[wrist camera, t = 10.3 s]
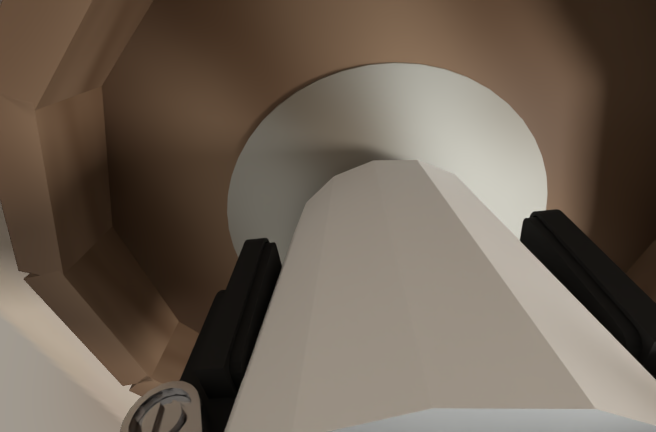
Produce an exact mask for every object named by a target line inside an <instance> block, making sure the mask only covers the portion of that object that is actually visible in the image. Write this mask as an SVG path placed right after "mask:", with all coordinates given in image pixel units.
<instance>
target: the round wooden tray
mask: <svg viewBox="0 0 656 432" xmlns="http://www.w3.org/2000/svg"><path fill="white" fill-rule="evenodd" d="M373 160H419V161H422V162H424V163H427V164H430V165H432V166H435V167H437V168H440V169H443V170H445V171H448V172H450V173H453V174H455V175H456V176H457V177H458V178H459V179H460V180H461V181H462V182H463V183H464V184H465V185H466V186H467V187H468V188H469V189H470V190H471V191H472V192H473V193H474V194H475V195H476V197H477V198H478V199H479V200H480V201H481V202H482V203H483V204H484V205H485V206H486V207H487V208H488V209H489V210H490V211H491V212H492V213H493V214H494V215H495V216H496V217H497V218H498V219H499V220H500V221H501V222H502V223H503V224H504V225H505V226H506V227H507V228H508V229H509V230H510V231H511V232H512V233H513V234H514V235H515V236H516V237H517V238H518V239H519V240H520V236H521V229H522V223H523V220H524V219H525V218H529V217H530V215H531V213H532V212H534V211H543V210H554V209H559V210H561V211H562V212H563V213H564V214H565V215H566V216H567V217H568V218H569V219H570V220H571V221H572V222H573V223H574V224H575V225H576V226H577V227H578V228H579V229H580V230H581V231H582V232H583V233H584V234H586V235H587V236H588V237H589V238H590V239H591V240H592V241H593V242H594V243H595V244H596V245H597V246H598V247H599V248H600V249H601V250H602V251H603V252H604V253H605V254H606V255H607V256H608V257H609V258H610V259H611V260H612V261H613V262H614V263H615V264H616V265H617V266H618V267H619V268H620V269H621V270H622V271H623V272H624V273H625V274H626V275H627V276H628V277H629V278H630V279H631V280H633V281H634V282H635V283H636V284H637V285H638V286H639V287H640V288H641V289H642V290H643V291H644V292H645V293H646V294H647V295H648V296H649V297H650V298H651V299H652V300H653V301H654V302H655V303H656V0H2V2H1V5H0V200H1V204H2V208H3V212H4V216H5V220H6V223H7V227H8V231H9V235H10V239H11V243H12V247H13V251H14V255H15V258H16V262H17V266H18V270H19V271H22V272H27V273H30V274H29V275H28V276H27V277H25V278H24V280H25V281H26V282H27V283H28V284H29V285H30V287H31V288H32V289H33V290H34V291H35V292H36V293H37V294H38V295H39V296H40V297H41V298H42V299H43V301H44V302H45V303H46V304H47V305H48V306H49V307H50V308H51V309H52V310H53V311H54V312H55V313H56V315H57V316H58V317H59V318H60V319H61V320H62V321H63V322H64V323H65V324H66V325H67V326H68V327H69V329H70V330H71V331H72V332H73V333H74V334H75V335H76V336H77V337H78V338H79V339H80V340H81V341H82V343H83V344H84V345H85V346H86V347H87V348H88V349H89V350H90V351H91V352H92V353H93V354H94V355H95V357H96V358H97V359H98V360H99V361H100V362H101V363H102V364H103V365H104V366H105V367H106V368H107V369H108V371H109V372H110V373H111V374H112V375H113V376H114V377H115V378H116V379H117V380H118V381H119V382H120V383H121V385H122V386H125V385H131V384H132V386H131V388H130V390H129V391H131V392H133V393H136V394H138V395H140V396H143V395H144V394H146V393H147V392H148V391H149V390H151V389H153V388H155V387H157V386H159V385H161V384H164V383H167V382H171V381H179V380H180V378H181V376H182V373H183V371H184V369H185V366H186V364H187V361H188V359H189V357H190V354H191V352H192V350H193V347H194V345H195V343H196V340H197V338H198V336H199V333H200V331H201V328H202V326H203V324H204V321H205V319H206V317H207V314H208V312H209V310H210V307H211V305H212V303H213V300H214V298H215V296H216V294H217V292H219V291H220V290H226V287H227V285H228V282H229V280H230V277H231V275H232V272H233V270H234V267H235V265H236V262H237V260H238V257H239V255H240V252H241V250H242V247H243V245H244V242H245V241H246V240H248V239H258V238H268V240H269V242H270V243H272V242H275V243H276V246H277V249H278V253H279V257H280V260H281V264H282V266H283V263H284V260H285V257H286V254H287V251H288V249H289V246H290V243H291V240H292V237H293V234H294V232H295V229H296V227H297V224H298V222H299V219H300V217H301V214H302V212H303V209H304V207H305V204H306V202H307V201H308V200H309V199H310V198H311V197H312V196H314V195H315V194H316V193H317V192H318V191H319V190H320V189H321V188H322V187H323V186H324V185H325V184H326V183H327V182H328V181H329V180H330V179H332V178H333V177H334V176H335V175H338V174H341V173H343V172H346V171H348V170H351V169H353V168H356V167H358V166H361V165H363V164H366V163H368V162H371V161H373Z"/></svg>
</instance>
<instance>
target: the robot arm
mask: <svg viewBox="0 0 656 432" xmlns="http://www.w3.org/2000/svg"><path fill="white" fill-rule="evenodd" d="M520 241H521V242H522V244H523V245H524V246H525V247H526V248H527V249H528V250H529V251H530V252H531V253H532V254H533V255H534V256H535V257H536V258H537V259H538V260H539V261H540V262H541V263H542V264H543V265H544V266H545V267H546V268H547V269H548V270H549V271H550V272H551V273H552V274H553V275H554V276H555V277H556V278H557V279H558V280H559V281H560V282H561V283H562V284H563V285H564V286H565V287H566V288H567V289H568V291H569V292H570V293H571V294H572V295H573V296H574V297H575V298H576V299H577V300H578V301H579V302H580V303H581V304H582V305H583V306H584V307H585V308H586V309H587V310H588V311H589V312H590V313H591V314H592V315H593V316H594V317H595V318H596V319H597V320H598V321H599V322H600V323H601V324H602V325H603V326H604V327H605V328H606V329H607V330H608V331H609V332H610V333H611V334H612V335H613V337H614V338H615V339H616V340H617V341H618V342H619V343H620V344H621V345H622V346H623V347H624V348H625V349H626V350H627V351H628V352H629V353H630V354H631V355H632V356H633V357H634V358H635V359H636V360H637V361H638V362H639V363H640V364H641V365H642V366H643V367H644V368H645V369H646V370H647V371H648V372H649V373H650V374H651V375H652V376H653V377H654V378H655V379H656V303H655V302H654V301H653V300H652V299H651V298H650V297H649V296H648V295H647V294H646V293H645V292H644V291H643V290H642V289H641V288H640V287H639V286H638V285H637V284H636V283H635V282H634V281H633V280H631V279H630V278H629V277H628V276H627V275H626V274H625V273H624V272H623V271H622V270H621V269H620V268H619V267H618V266H617V265H616V264H615V263H614V262H613V261H612V260H611V259H610V258H609V257H608V256H607V255H606V254H605V253H604V252H603V251H602V250H601V249H600V248H599V247H598V246H597V245H596V244H595V243H594V242H593V241H592V240H591V239H590V238H589V237H588V236H587V235H586V234H584V233H583V232H582V231H581V230H580V229H579V228H578V227H577V226H576V225H575V224H574V223H573V222H572V221H571V220H570V219H569V218H568V217H567V216H566V215H565V214H564V213H563V212H562V211H561V210H559V209H554V210H543V211H534V212H532V213H531V215H530V217H529V218H525V219H524V220H523V223H522V229H521V236H520ZM281 268H282V264H281V260H280V257H279V253H278V249H277V246H276V243H275V242H272V243H270V242H269V240H268V238H258V239H248V240H246V241H245V242H244V245H243V247H242V250H241V252H240V255H239V257H238V260H237V262H236V265H235V267H234V270H233V272H232V275H231V277H230V280H229V282H228V285H227V287H226V290H220V291H219V292H217V294H216V296H215V298H214V300H213V303H212V305H211V307H210V310H209V312H208V314H207V317H206V319H205V321H204V324H203V326H202V328H201V331H200V333H199V336H198V338H197V340H196V343H195V345H194V347H193V350H192V352H191V354H190V357H189V359H188V361H187V364H186V366H185V369H184V371H183V373H182V376H181V378H180V380H179V381H171V382H167V383H164V384H161V385H159V386H157V387H155V388H153V389H151V390H149V391H148V392H147V393H146V394H144V395H143V396H142V397H140V398H139V399H138V400H137V402H136V403H135V404H134V405H133V406H132V407H131V408H130V410H129V411H128V413H127V415H126V416H125V418H124V420H123V422H122V426H121V429H120V432H224V431H225V428H226V425H227V422H228V419H229V416H230V413H231V411H232V408H233V405H234V402H235V399H236V396H237V394H238V391H239V388H240V385H241V382H242V380H243V378H244V375H245V372H246V369H247V366H248V363H249V360H250V357H251V354H252V351H253V349H254V346H255V343H256V340H257V337H258V334H259V331H260V328H261V325H262V322H263V320H264V317H265V314H266V311H267V308H268V305H269V303H270V300H271V297H272V294H273V291H274V288H275V285H276V283H277V280H278V277H279V274H280V271H281Z"/></svg>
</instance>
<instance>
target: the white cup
mask: <svg viewBox="0 0 656 432" xmlns="http://www.w3.org/2000/svg"><path fill="white" fill-rule="evenodd" d="M224 432H656V379H655V378H654V377H653V376H652V375H651V374H650V373H649V372H648V371H647V370H646V369H645V368H644V367H643V366H642V365H641V364H640V363H639V362H638V361H637V360H636V359H635V358H634V357H633V356H632V355H631V354H630V353H629V352H628V351H627V350H626V349H625V348H624V347H623V346H622V345H621V344H620V343H619V342H618V341H617V340H616V339H615V338H614V337H613V335H612V334H611V333H610V332H609V331H608V330H607V329H606V328H605V327H604V326H603V325H602V324H601V323H600V322H599V321H598V320H597V319H596V318H595V317H594V316H593V315H592V314H591V313H590V312H589V311H588V310H587V309H586V308H585V307H584V306H583V305H582V304H581V303H580V302H579V301H578V300H577V299H576V298H575V297H574V296H573V295H572V294H571V293H570V292H569V291H568V289H567V288H566V287H565V286H564V285H563V284H562V283H561V282H560V281H559V280H558V279H557V278H556V277H555V276H554V275H553V274H552V273H551V272H550V271H549V270H548V269H547V268H546V267H545V266H544V265H543V264H542V263H541V262H540V261H539V260H538V259H537V258H536V257H535V256H534V255H533V254H532V253H531V252H530V251H529V250H528V249H527V248H526V247H525V246H524V245H523V244H522V242H521V241H520V240H519V239H518V238H517V237H516V236H515V235H514V234H513V233H512V232H511V231H510V230H509V229H508V228H507V227H506V226H505V225H504V224H503V223H502V222H501V221H500V220H499V219H498V218H497V217H496V216H495V215H494V214H493V213H492V212H491V211H490V210H489V209H488V208H487V207H486V206H485V205H484V204H483V203H482V202H481V201H480V200H479V199H478V198H477V197H476V195H475V194H474V193H473V192H472V191H471V190H470V189H469V188H468V187H467V186H466V185H465V184H464V183H463V182H462V181H461V180H460V179H459V178H458V177H457V176H456V175H455V174H453V173H450V172H448V171H445V170H443V169H440V168H437V167H435V166H432V165H430V164H427V163H424V162H422V161H419V160H373V161H371V162H368V163H366V164H363V165H361V166H358V167H356V168H353V169H351V170H348V171H346V172H343V173H341V174H338V175H335V176H334V177H333V178H332V179H330V180H329V181H328V182H327V183H326V184H325V185H324V186H323V187H322V188H321V189H320V190H319V191H318V192H317V193H316V194H315V195H314V196H312V197H311V198H310V199H309V200H308V201H307V202H306V204H305V207H304V209H303V212H302V214H301V217H300V219H299V222H298V224H297V227H296V229H295V232H294V234H293V237H292V240H291V243H290V246H289V249H288V251H287V254H286V257H285V260H284V263H283V266H282V268H281V271H280V274H279V277H278V280H277V283H276V285H275V288H274V291H273V294H272V297H271V300H270V303H269V305H268V308H267V311H266V314H265V317H264V320H263V322H262V325H261V328H260V331H259V334H258V337H257V340H256V343H255V346H254V349H253V351H252V354H251V357H250V360H249V363H248V366H247V369H246V372H245V375H244V378H243V380H242V382H241V385H240V388H239V391H238V394H237V396H236V399H235V402H234V405H233V408H232V411H231V413H230V416H229V419H228V422H227V425H226V428H225V431H224Z"/></svg>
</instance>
